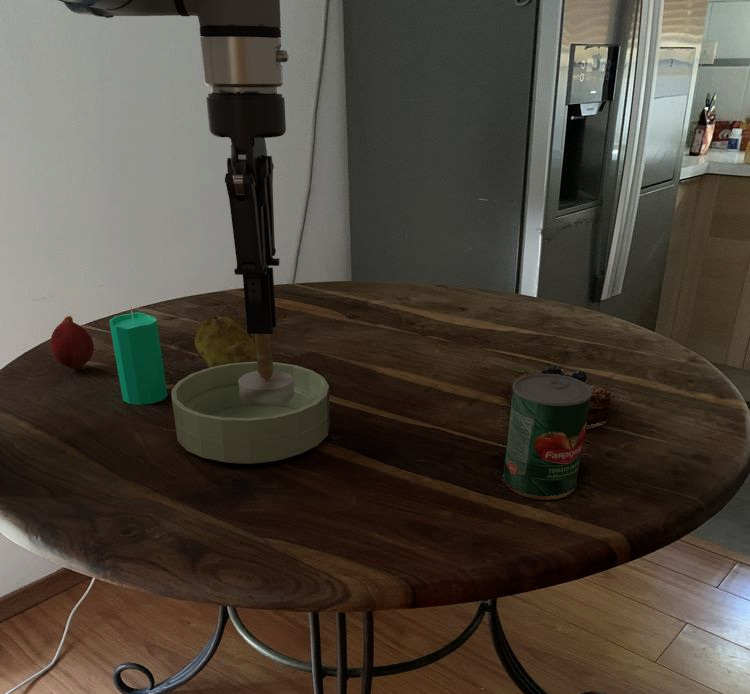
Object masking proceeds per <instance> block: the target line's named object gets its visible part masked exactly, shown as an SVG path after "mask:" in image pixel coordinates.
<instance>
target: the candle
mask: <svg viewBox="0 0 750 694" xmlns="http://www.w3.org/2000/svg"><path fill="white" fill-rule="evenodd" d="M158 326H159V325H158V319H157V318H156V317H154V316H153V315H151V314H148V313H144V312H140V311H136V312H133V308H132V307H130V312H129V313H125V314H120V315H115V316H113V317H112V318H111V319H109V328H110V335H111V341H112V346H113V351H114V359H115V362H116V363H115V364H116V369H117V375H118V380H119V385H120V386H119V387H120V392H121V396H122V401H123V402H125V403H127V404H129V405H138V406H140V405H152V404H156V403H159V402H161V401H164V399H166V398H167V397H168V388H167V382H166V375H165V368H164V361H163V354H162V348H161V340H160V339H161V338H160V334H159V333H160V332H159V327H158Z"/></svg>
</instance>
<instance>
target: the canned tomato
mask: <svg viewBox="0 0 750 694" xmlns="http://www.w3.org/2000/svg"><path fill="white" fill-rule="evenodd" d="M523 376H524V375H523ZM516 379H517V378H516ZM591 396H592V389H591V388H590V387H589V386H588V385H587V384H586V383H584V382H582V381H580V380H578V379H575V378H572V377H568V376H563V375H556V374H540V373H533V374H531V375H530V374H529V375H527V376H524V377H521V378H519V379H517V380H516V381H515V382H514V384H513V394H512V401H511V409H509V411H510V413H509V421H508V429H507V431H508V432H507V437H506V448H505V456H504V464H503V467H504V468H503V474H502V477H504V480H505V482H506V483H507V484H508V485H509V486H510V487H512V488H514V489H515V490H517V491H520V492H522V493H527V494H530V495H531V494H532V495H537V496H551V495H552V496H553V495H559V494H563V493H567V492H568V491H570V490H572V489H573V488H574V487H575V485H576V486H577V480H578V476H579V469H580V465H581V464H580V463H581V459H582V453H583V447H584V440H585V435H586V430H585V429H586V425H587V418H588V412H589V406H590V399H591Z"/></svg>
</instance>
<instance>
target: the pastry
mask: <svg viewBox="0 0 750 694" xmlns="http://www.w3.org/2000/svg"><path fill="white" fill-rule="evenodd" d="M539 374H556V375H563V376H568V377H572V378H575V379H578V380H580V381H582V382H584V383H586V384H587V385H588V386H589V387H590V388H591V389H592V396H591V399H590V406H589V412H588V418H587V425H591V424H596V423H598V422H601V421H605V420H607V419H609V420H610V417H609V415H610V414H611V412H609V410H611V409H612V399H611V394H612V393H611V392H610V391H607V390H606V388H603V387H600V386H599V385H597V386H596V385H595V384H593V383H592V382H591V381H587V379H588V377H587V373H586V372H585V371H583V370H576V371H566V370H565V369H561V368H560V367H559V366H558V365H553V366H552V365H551V366H550V367H549V368H547V369H543V370H542V371H541V372H540V373H539ZM527 375H532V373H530V374H529V373H525V374H524V375H521V374H520V375H518V376H517V377H516V378H515V379H513V380H512V382H511V385H510V387H511V391H510V392H509V393H508V395H507V405H508V404H509V405H510V406H511V401H512V394H513V384H514V382H515V381H516V380H517V379H519V378H521V377H524V376H527Z"/></svg>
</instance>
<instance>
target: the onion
mask: <svg viewBox="0 0 750 694" xmlns="http://www.w3.org/2000/svg"><path fill="white" fill-rule="evenodd" d="M49 348H50V352H51V355H52V356H53V358H54V359H55V361H57V362H58V363H59V364H61V365H63V366H64V367H67V368H69V369H71V370H74V371H80V370H82V369H83V368H84V366H85V365H86V364H87V363H88V362H89V361H90V360H91V358H92V357H93V355H94V352H95V344H94V341H93V338H92V336H91V334H90V333H89V332H88V330H86V329H85V328H84V327H83V326H81V325H80V324H78V323H75V322H74V319H73V317H72V316H71V315H67V316H65V317H64V318H63V320H62V321H61V323H59V324H58V325H57V326H56V327H55V328H54V330H53V332H52V333H51V336H50V341H49Z"/></svg>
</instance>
